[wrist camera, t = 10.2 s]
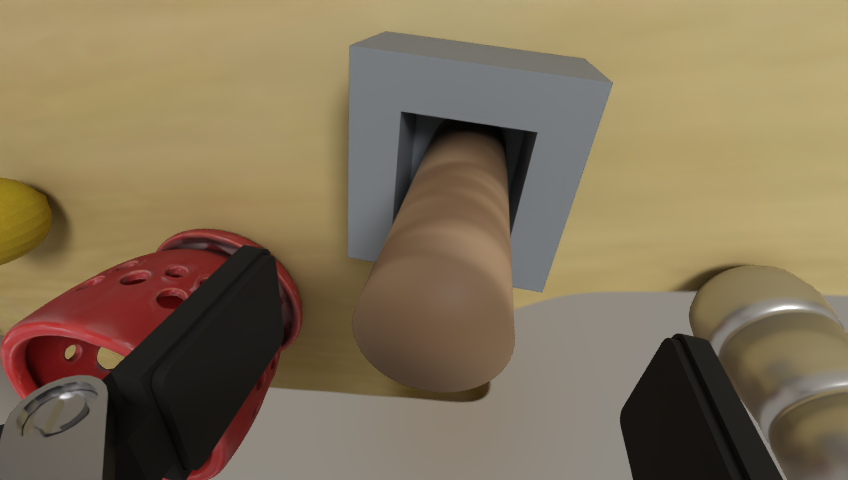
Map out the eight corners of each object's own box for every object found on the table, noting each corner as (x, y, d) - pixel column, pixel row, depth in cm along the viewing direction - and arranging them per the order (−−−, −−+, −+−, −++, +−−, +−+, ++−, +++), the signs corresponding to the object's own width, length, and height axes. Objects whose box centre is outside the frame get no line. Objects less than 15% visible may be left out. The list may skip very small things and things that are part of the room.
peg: (513, 118, 21) (533, 289, 9) (497, 190, 23) (496, 405, 11) (435, 106, 21) (354, 256, 9) (426, 178, 23) (351, 375, 11)
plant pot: (261, 189, 27) (119, 309, 17) (341, 335, 33) (271, 487, 23) (118, 228, 31) (-68, 345, 21) (213, 353, 37) (105, 490, 27)
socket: (585, 58, 20) (613, 82, 15) (533, 232, 26) (542, 292, 20) (386, 31, 21) (349, 45, 16) (376, 205, 26) (347, 257, 21)
